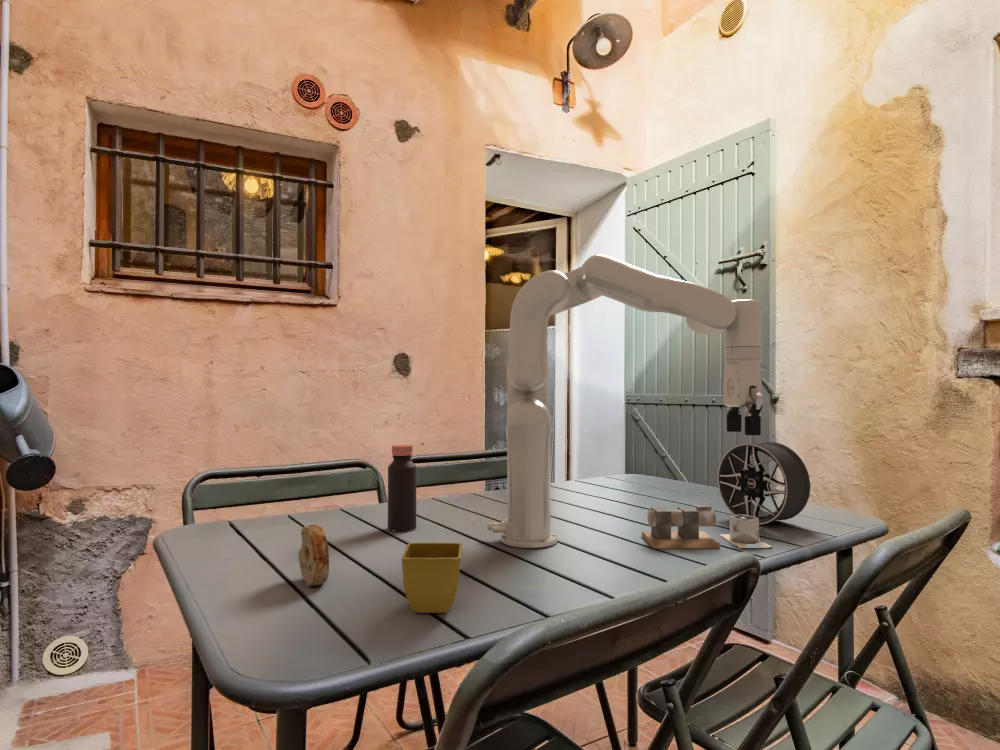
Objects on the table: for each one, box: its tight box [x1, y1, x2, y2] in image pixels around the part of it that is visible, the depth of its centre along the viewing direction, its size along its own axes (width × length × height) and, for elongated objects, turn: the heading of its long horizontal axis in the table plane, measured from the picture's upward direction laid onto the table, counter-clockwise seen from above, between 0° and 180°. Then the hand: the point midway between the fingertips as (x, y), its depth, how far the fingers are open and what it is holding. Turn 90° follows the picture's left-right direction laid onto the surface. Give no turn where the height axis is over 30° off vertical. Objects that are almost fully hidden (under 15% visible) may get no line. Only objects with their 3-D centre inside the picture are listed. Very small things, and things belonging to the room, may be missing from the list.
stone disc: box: [297, 524, 330, 587], centre depth 103 cm, size 10×4×10 cm, turn 30°
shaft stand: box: [641, 505, 721, 549], centre depth 129 cm, size 14×10×8 cm
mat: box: [719, 533, 773, 549], centre depth 129 cm, size 7×11×1 cm, turn 0°
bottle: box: [387, 444, 417, 532], centre depth 142 cm, size 7×7×20 cm
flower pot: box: [401, 542, 463, 614], centre depth 91 cm, size 9×9×9 cm
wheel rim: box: [716, 441, 811, 526], centre depth 148 cm, size 20×9×20 cm, turn 30°
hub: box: [729, 514, 760, 544], centre depth 129 cm, size 6×6×5 cm
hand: (743, 433), depth 130 cm, fingers open, 9 cm apart
